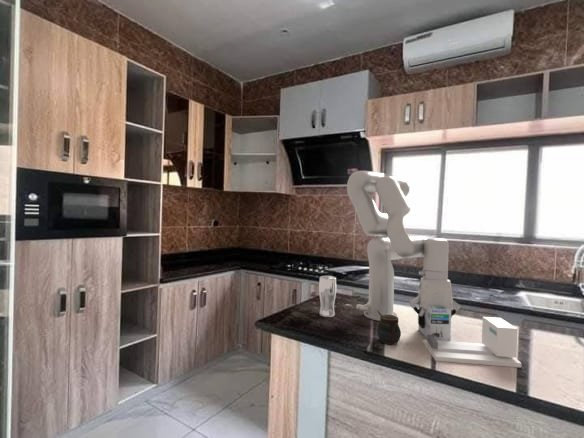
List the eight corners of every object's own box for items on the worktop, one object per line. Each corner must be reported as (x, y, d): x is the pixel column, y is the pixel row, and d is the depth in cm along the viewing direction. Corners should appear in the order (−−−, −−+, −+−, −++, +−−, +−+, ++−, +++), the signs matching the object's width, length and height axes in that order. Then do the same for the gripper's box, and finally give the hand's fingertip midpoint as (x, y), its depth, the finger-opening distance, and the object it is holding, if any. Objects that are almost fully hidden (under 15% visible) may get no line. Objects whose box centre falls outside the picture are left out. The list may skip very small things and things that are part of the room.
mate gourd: (405, 346, 98) (406, 314, 97) (382, 347, 96) (383, 314, 96) (393, 336, 105) (394, 307, 104) (372, 337, 103) (373, 307, 103)
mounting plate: (435, 360, 88) (435, 346, 88) (423, 343, 100) (424, 330, 100) (521, 367, 85) (521, 352, 85) (498, 348, 97) (498, 335, 97)
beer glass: (337, 317, 122) (337, 279, 122) (319, 317, 123) (319, 279, 122) (334, 312, 129) (335, 275, 129) (317, 311, 130) (318, 275, 129)
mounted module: (496, 356, 87) (497, 327, 87) (481, 342, 96) (482, 316, 96) (516, 357, 87) (517, 328, 86) (499, 344, 96) (500, 317, 95)
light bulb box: (451, 342, 101) (452, 309, 101) (429, 342, 101) (430, 308, 101) (436, 330, 112) (437, 299, 111) (417, 329, 112) (418, 299, 111)
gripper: (410, 276, 103) (409, 330, 104) (467, 278, 101) (465, 333, 101) (405, 271, 111) (404, 322, 111) (458, 274, 108) (456, 325, 109)
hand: (433, 327), depth 106 cm, fingers closed on light bulb box, 7 cm apart
